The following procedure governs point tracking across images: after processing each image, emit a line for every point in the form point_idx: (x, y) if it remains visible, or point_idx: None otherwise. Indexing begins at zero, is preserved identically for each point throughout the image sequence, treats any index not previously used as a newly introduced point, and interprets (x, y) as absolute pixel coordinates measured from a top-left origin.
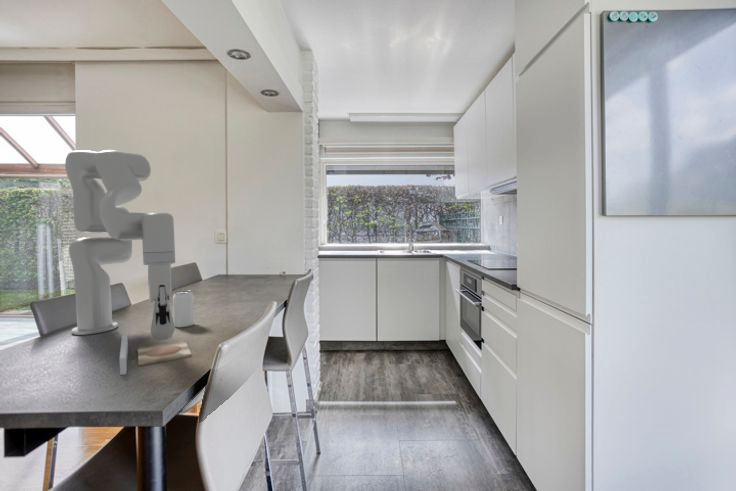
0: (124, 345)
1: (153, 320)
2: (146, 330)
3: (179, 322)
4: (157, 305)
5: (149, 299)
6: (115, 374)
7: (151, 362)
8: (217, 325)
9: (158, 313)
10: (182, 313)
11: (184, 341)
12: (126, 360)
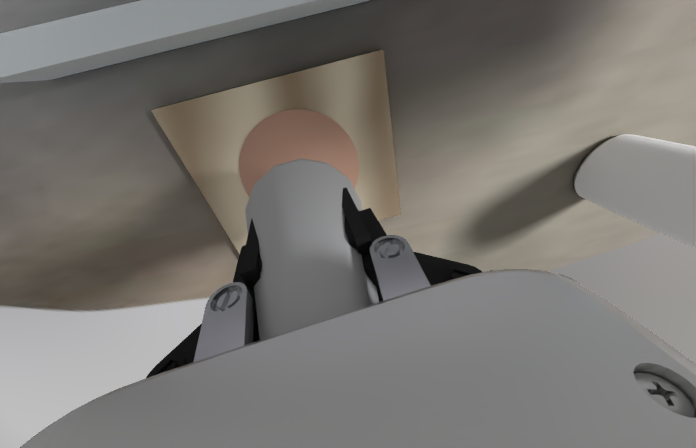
0: (231, 6)
1: (269, 215)
2: (668, 18)
3: (604, 163)
4: (198, 359)
5: (247, 353)
6: (39, 22)
7: (181, 156)
8: (519, 258)
9: (250, 283)
10: (636, 189)
11: (388, 214)
12: (128, 55)
